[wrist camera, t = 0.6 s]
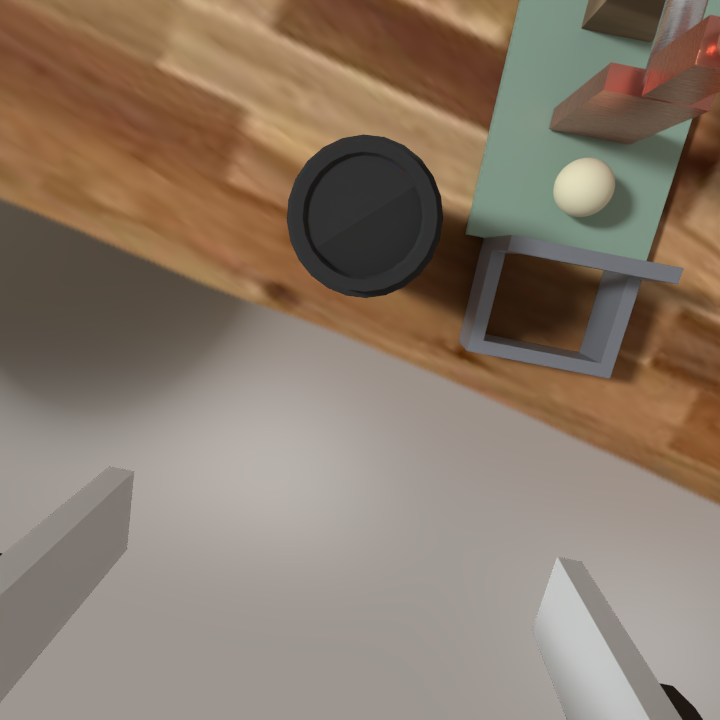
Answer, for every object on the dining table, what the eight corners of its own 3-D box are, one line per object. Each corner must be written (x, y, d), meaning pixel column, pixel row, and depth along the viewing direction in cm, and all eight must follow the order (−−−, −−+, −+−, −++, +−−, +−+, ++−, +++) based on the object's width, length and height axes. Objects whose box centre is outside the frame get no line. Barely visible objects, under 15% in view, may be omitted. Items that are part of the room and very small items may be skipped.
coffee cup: (440, 248, 38) (478, 247, 24) (351, 301, 40) (335, 331, 25) (388, 153, 37) (394, 89, 22) (297, 211, 38) (247, 187, 24)
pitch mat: (532, -56, 33) (537, -65, 32) (728, -17, 34) (738, -25, 33) (465, 234, 38) (467, 233, 37) (637, 268, 38) (643, 268, 37)
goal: (483, 238, 38) (511, 234, 30) (618, 264, 38) (683, 268, 30) (458, 340, 40) (478, 364, 32) (587, 366, 40) (640, 395, 32)
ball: (553, 158, 36) (575, 146, 32) (606, 168, 36) (634, 158, 32) (539, 213, 36) (558, 208, 33) (590, 223, 37) (615, 220, 33)
